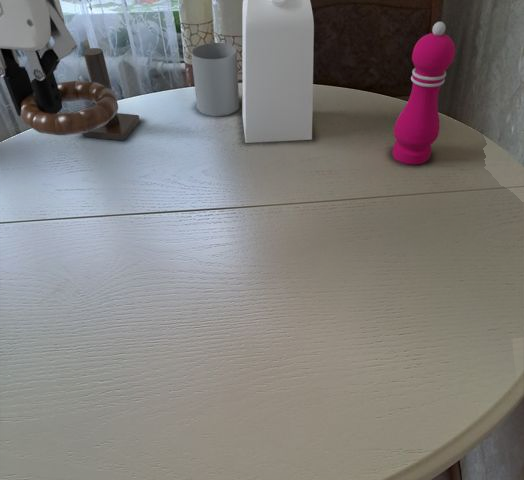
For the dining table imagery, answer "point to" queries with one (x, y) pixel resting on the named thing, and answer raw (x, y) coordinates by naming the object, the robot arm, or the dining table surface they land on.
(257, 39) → the milk
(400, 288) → the dining table surface
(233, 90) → the cup
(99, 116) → the ring
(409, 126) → the pepper mill
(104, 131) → the brown post
